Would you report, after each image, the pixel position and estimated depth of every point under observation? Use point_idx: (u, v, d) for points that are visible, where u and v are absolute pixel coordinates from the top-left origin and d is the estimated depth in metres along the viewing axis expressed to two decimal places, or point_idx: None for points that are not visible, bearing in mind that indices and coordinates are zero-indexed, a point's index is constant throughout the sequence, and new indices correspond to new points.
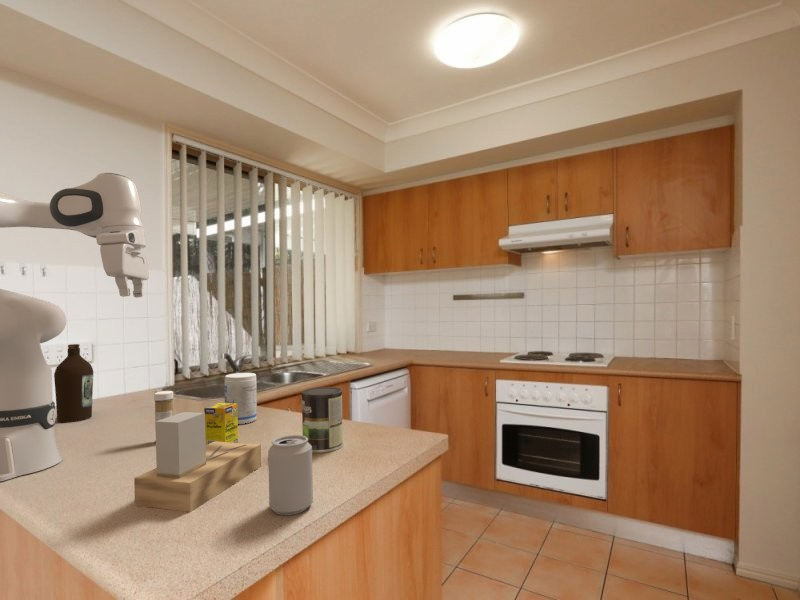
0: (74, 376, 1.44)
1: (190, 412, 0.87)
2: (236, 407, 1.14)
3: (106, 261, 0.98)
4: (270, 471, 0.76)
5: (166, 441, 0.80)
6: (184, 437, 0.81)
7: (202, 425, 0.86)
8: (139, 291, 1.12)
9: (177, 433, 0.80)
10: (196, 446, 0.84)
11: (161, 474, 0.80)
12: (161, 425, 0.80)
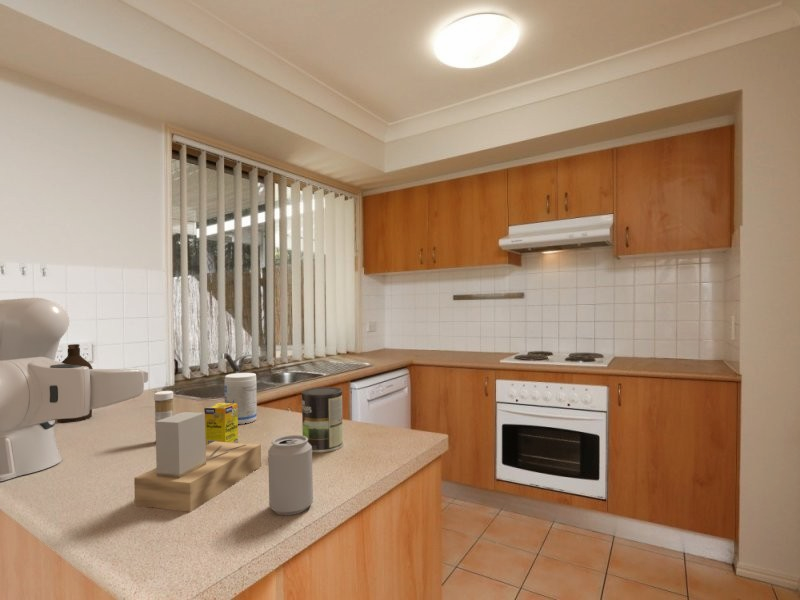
0: None
1: (190, 412, 0.87)
2: (236, 407, 1.14)
3: (128, 393, 0.61)
4: (270, 471, 0.76)
5: (166, 441, 0.80)
6: (184, 437, 0.81)
7: (202, 425, 0.86)
8: None
9: (177, 433, 0.80)
10: (196, 446, 0.84)
11: (161, 474, 0.80)
12: (161, 425, 0.80)
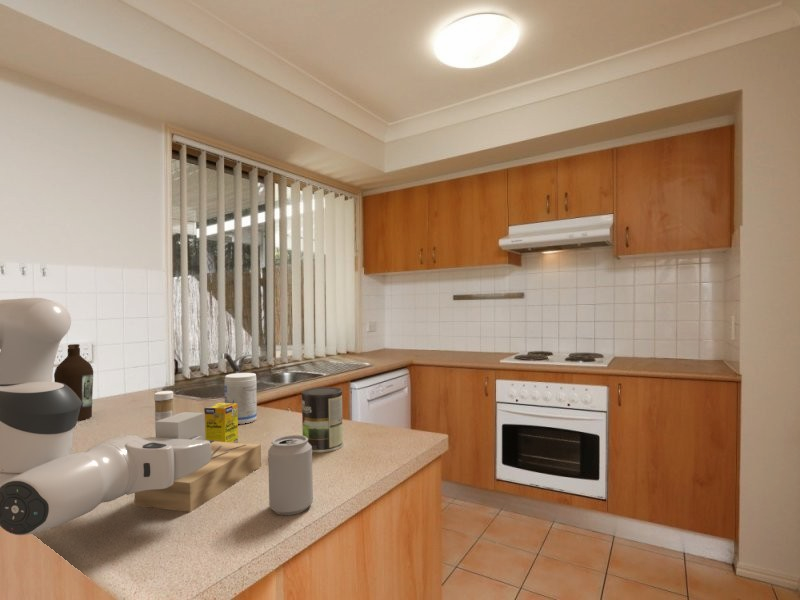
0: (74, 376, 1.44)
1: (190, 412, 0.87)
2: (236, 407, 1.14)
3: (201, 463, 0.74)
4: (270, 471, 0.76)
5: None
6: (184, 437, 0.81)
7: (202, 425, 0.86)
8: None
9: (177, 433, 0.80)
10: None
11: None
12: (161, 425, 0.80)
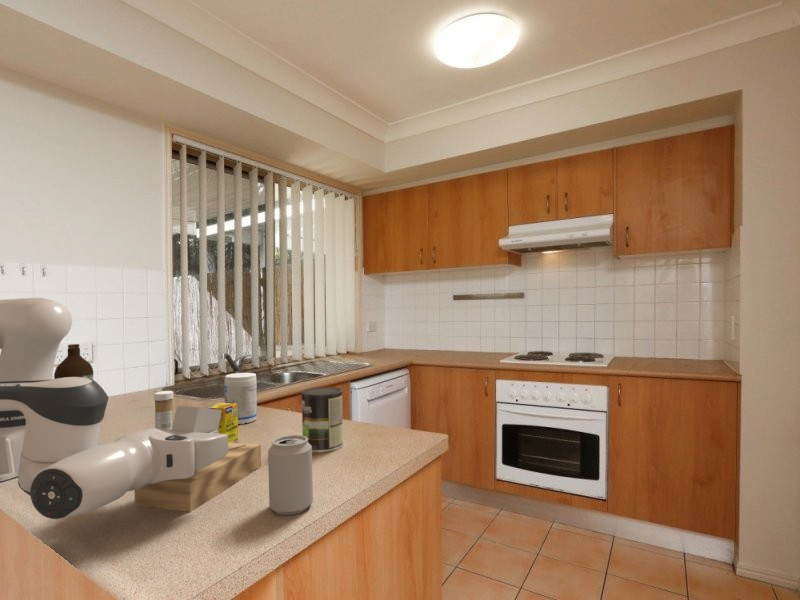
0: (74, 376, 1.44)
1: None
2: (236, 407, 1.14)
3: (219, 455, 0.78)
4: (270, 471, 0.76)
5: (182, 425, 0.84)
6: (200, 424, 0.85)
7: (217, 421, 0.89)
8: None
9: (195, 417, 0.84)
10: None
11: None
12: (182, 409, 0.85)
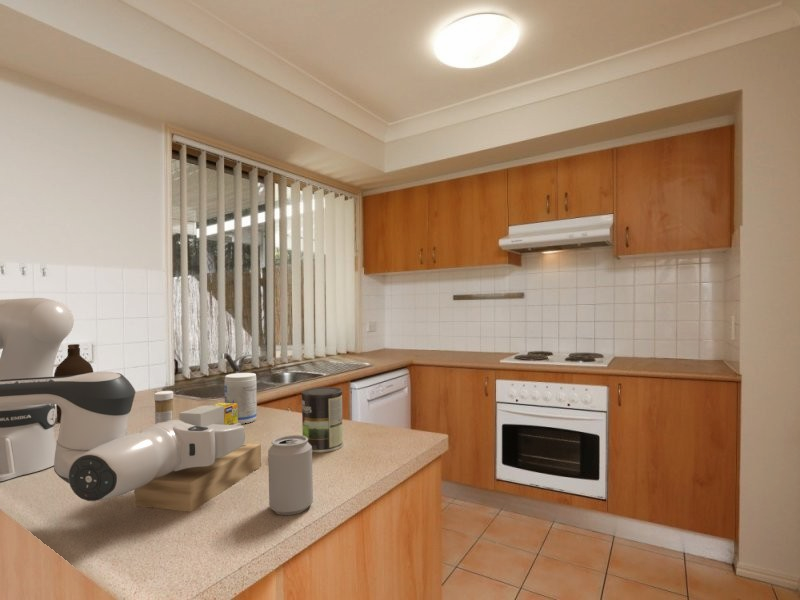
0: None
1: None
2: (236, 407, 1.14)
3: (237, 445, 0.84)
4: (270, 471, 0.76)
5: None
6: None
7: (221, 417, 0.91)
8: None
9: (199, 424, 0.85)
10: None
11: None
12: (184, 416, 0.86)
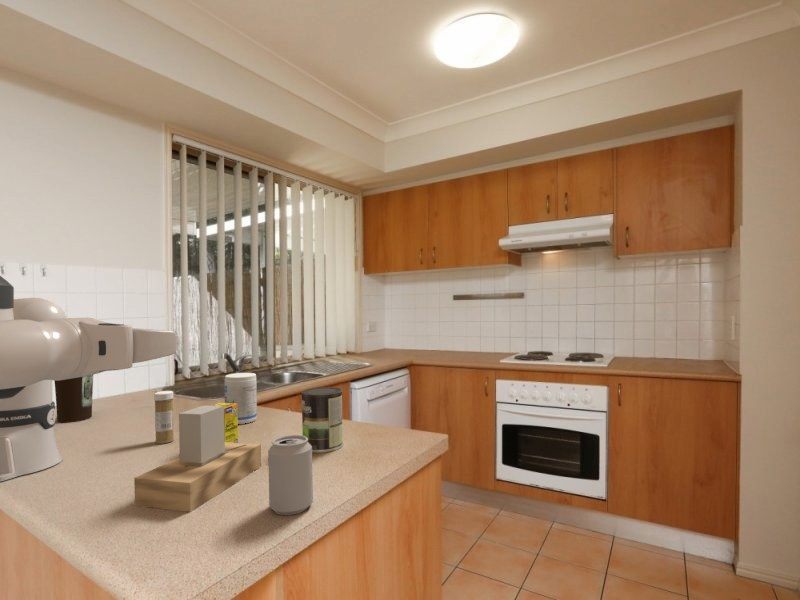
0: None
1: None
2: (236, 407, 1.14)
3: (164, 351, 0.69)
4: (270, 471, 0.76)
5: (188, 432, 0.86)
6: (205, 428, 0.87)
7: (221, 417, 0.91)
8: None
9: (199, 424, 0.85)
10: (216, 437, 0.89)
11: (184, 463, 0.86)
12: (184, 417, 0.86)
